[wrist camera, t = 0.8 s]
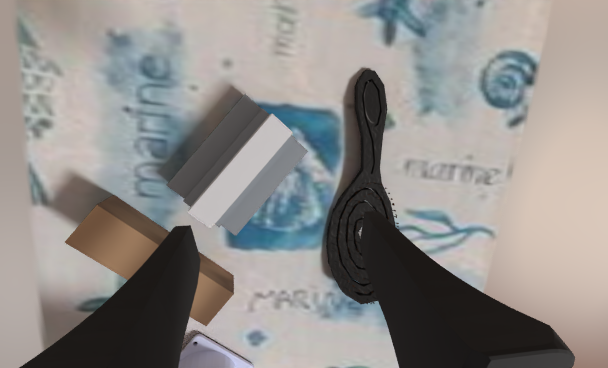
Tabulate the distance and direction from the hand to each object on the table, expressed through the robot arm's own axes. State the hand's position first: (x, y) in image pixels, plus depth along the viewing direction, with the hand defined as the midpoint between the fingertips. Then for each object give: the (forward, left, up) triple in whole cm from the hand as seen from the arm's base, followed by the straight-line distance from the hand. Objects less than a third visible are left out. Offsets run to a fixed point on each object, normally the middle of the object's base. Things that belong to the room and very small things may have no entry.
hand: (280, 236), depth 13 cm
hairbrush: (+6, -10, -19) cm, 23 cm away
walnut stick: (-12, +1, -19) cm, 22 cm away
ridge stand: (0, +1, -19) cm, 19 cm away
